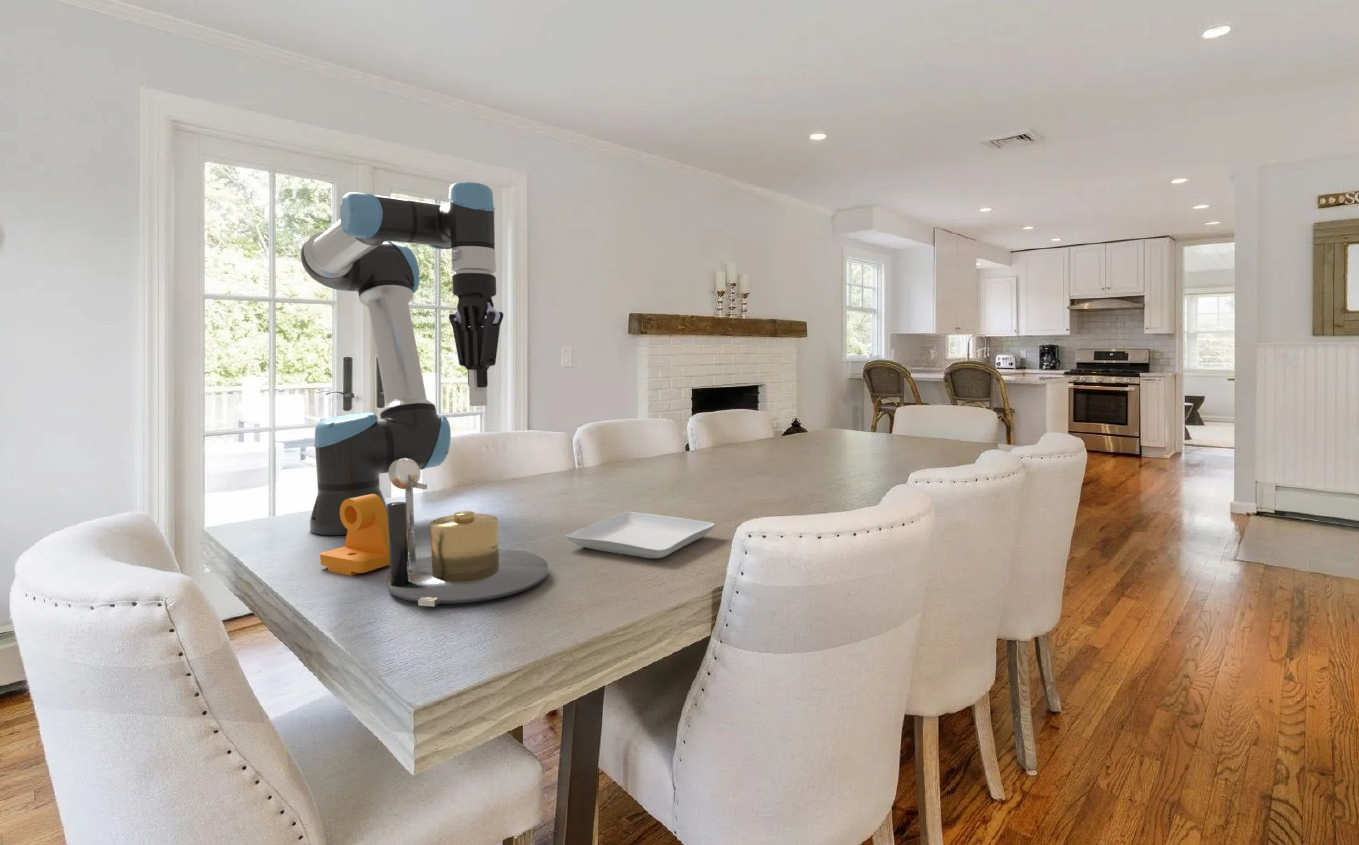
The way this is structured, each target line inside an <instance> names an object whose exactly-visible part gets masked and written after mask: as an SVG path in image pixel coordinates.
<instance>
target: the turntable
mask: <svg viewBox="0 0 1359 845" xmlns="http://www.w3.org/2000/svg"><path fill="white" fill-rule="evenodd" d="M386 505H387V515H388V536H389V558H390V565H389V572H390V574H389V575H388V577H387V581H386V582H387V589H388V592H389V593H390V594H392V595H393V596H395V597H397V598H398V599H402V600H404V601H405V600H406V601H409V602H415V603H417V604H418V606H419V607H436V606H437V605H440V604H441V605H442V604H443V605H447V604H449V605H450V604H464V603H465V604H466V603H467V604H468V603H474V602H475V603H477V602H484V601H490V600H494V599H500V598H504V597H509V596H511V595H515V594H518V593H521V592H523V591H526V590H529V589H531V588H533V587H535V586H537V585H538V584H540V583H542V581H544V580H545V578H546V577H547V576H548V573H549V566H548V562H547V560H546V559H544V558H543V557H541V556H539V555H537V554H534V553H531V552H527V551H521V550H515V549H502V548H501V549H500V548H499V570H498V571H497V572H496V573H495V574H493V575H490V576H488V577H484V578H480V579H476V580H469V581H444V580H439V579H436V578H434V577H433V575H432V555H430V556H426V558H422V559H419V560H416V561H413V562H410V563H409V556H408V534H407V511H406V501H396V502H389V503H386Z"/></svg>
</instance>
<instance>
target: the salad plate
mask: <svg viewBox="0 0 1359 845" xmlns="http://www.w3.org/2000/svg"><path fill="white" fill-rule="evenodd" d="M715 527H716V524H715V523H714V522H710V521H703V520H698V519H689V518H684V517H683V518H682V517H676V516H668V515H663V514H662V515H661V514H653V513H644V512H643V513H642V512H634V511H628V510H627V511H624V512H621V513H618V514H616V515H613V516H611V517H607V518H605V519H603V520H599V521H598V522H595V523H592V524H591V525H587V526H584V527H583V528H579V529H578V530H575V531H573V532H572V531H571V532H570V533H568V534H566V535H565V538H566V539H567V540H568V541H569V542H571V543H572V544H574V545H576V546H578V547H582V548H587V549H591V550H593V551H599V552H605V553H606V552H607V553H611V554H617V553H618V554H619V555H623V554H625V555H626V556H632V557H636V558H637V556H638V558H645V559H661V558H664V557H667V556H668V555H670V554H672V553H673V552H676V551H677V550H680V549H681V548H684V547H686V546H687V545H689V544H692V542H695V541H697V540H699V539H700V538H703V537H704V536H706V535H707V534H709V533H710V532H711V531H712V530H713V529H714V528H715ZM683 546H684V547H683Z"/></svg>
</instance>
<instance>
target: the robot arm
mask: <svg viewBox="0 0 1359 845" xmlns="http://www.w3.org/2000/svg"><path fill="white" fill-rule="evenodd" d="M448 190H449V191H448V192H449V193H448V197H447V200H448V203H446V204H439V203H432V202H427V201H426V202H424V201H419V200H410V199H406V198H405V199H404V198H398V197H397V198H396V197H391V196H385V195H380V194H373V193H369V192H347V193H345V195H344V196H343V197H342V201H341V203H340V208H339V219H338V221H337V222H334V224H332V225H331V226H330V227H329V228H328V229H327V230H326V231H320V232H315V233H314V234H312V235H311V236H309V237H308V238H307V239H306V240H305V242H304V243H303V245H302V247H301V250H300V260H301V264H302V267H303V269H304V270H305V272H306V273H307V274H308V275H309V276H310V277H311V278H312V279H313V280H314V281H315V282H318V283H319V284H321V285H323V286H325V287H326V288H330V289H333V290H337V291H344V292H345V291H346V292H357V293H358V298H359V302H360V303H361V304H362V305H364V306H365V307H366V308H368V311H369V312H368V313H369V319H370V323H371V330H372V336H373V340H374V341H373V342H374V345H375V350H376V352H375V353H376V357H377V358H376V359H377V363H378V370H379V375H380V379H381V384H382V391H383V397H384V402H385V406H384V408H382V410H381V411H380V413H379V417H380V418H378V416H377V414H376V413H375V412H361V413H350V414H344V415H339V416H335V417H334V416H333V417H330V418H326V419H323V420H321V421H319V422H318V423H317V424H316V426H315V430H314V444H313V446H314V448H315V462H316V463H315V466H316V480H317V482H316V484H317V495H316V498H315V502H314V505H313V509H312V513H311V515H310V516H311V517H309V518H310V519H309V528H310V529H309V531H310V532H311V533H313V534H315V535H319V536H321V535H322V536H345V535H346V536H347V531H348V529H347V528H346V527H345V526H344V525H343V523H342V521H341V518H340V507H341V504H342V502H343V501H344V500H346V499H350V498H355V497H359V496H364V495H369V494H376V495H378V496H379V497H380V498H381V500H382V501H383V503H384V506H385V509H386V513H387V501H386V500H385V497H384V495H383V492H382V490H381V487H380V486H381V485H380V475H381V474H388V472H389V468H390V466H391V464H392V463H393V462H394V461H396V460H399V459H402V458H409V459H412V460H413V461H415V462H416V463H417V464H418V466H419V468H420V471H421V470H422V471H423V470H425V469H429V468H430V469H431V468H435V467H439V466H441V465H442V464H443V463H444V462H445V461H446V459H447V457H448V455H449V451H450V447H451V438H452V437H451V435H452V434H451V425H450V422H449V420H448V418H447V416H445V415H442V414H438V413H437V409H436V405H435V403H433V402H432V401H430V400H428V398H427V394H426V389H425V384H424V378H423V373H422V368H421V362H420V359H419V358H420V357H419V352H418V347H417V342H416V337H415V332H414V331H415V330H414V326H413V321H412V320H413V319H412V316H411V310H410V305H409V304H410V303H411V302H412V300H413V299H414V295H415V293H416V292H417V291H418V289H419V285H420V280H421V279H420V276H419V275H420V267H419V262H418V260H417V258H416V256H415V254H414V251H412V249H411V248H409V247H408V246H407V245H405V244H403V243H407V244H415V245H418V244H419V245H425V246H426V245H427V246H429V247H431V248H433V249H436V250H450V249H451V264H452V265H451V268H452V272H454V273H453V275H452V277H451V280H452V282H451V283H452V284H451V285H452V294H453V295H454V296H455V297H457V298H458V300H457V301H458V302H457V307H456V308H457V310H456V311H455V313H450V314H448V319H449V322H450V324H451V326H452V331H453V332H452V333H453V337H454V342H455V348H456V353H457V359H458V364H459V366H461V367H464V368H465V369H466V370H467V385H468V391H469V392H468V393H469V394H468V395H469V396H468V397H469V407H470V406H471V407H479V406H480V407H482V406H488V389H487V388H488V384H489V382H488V370H489V369H490V368H491V367H494V366H496V362H497V352H498V346H499V337H500V329H501V323H502V321H503V319H504V313H503V311H497V310H496V309H495V308H494V307H495V306H494V305H495V304H494V302H493V298H492V297H495V296H496V295H497V277H496V276H495V275H494V273H495V272H496V271H497V262H496V249H495V248H496V247H495V245H496V242H495V238H496V237H495V210H496V209H495V208H496V207H495V205H494V196H493V194H494V193H493V190H492V189H491V187H489V186H488V185H487V184H483V183H480V182H479V183H478V182H472V181H471V182H470V181H461V182H460V181H458V182H455V183H453V184H451V185H450V186H449V189H448ZM387 516H388V515H387Z"/></svg>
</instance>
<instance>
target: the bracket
mask: <svg viewBox="0 0 1359 845" xmlns="http://www.w3.org/2000/svg"><path fill="white" fill-rule="evenodd" d="M340 518H341V521H342V523H343V525H344V526H345V527H346V528H347V529H348V531H347V535H346V538H345V542H344V546H341V547H337V548H334V549H330V550H327V551H322V552H320V553H319V556H320V566H323V567H327V568H328V570H327V571H328V572H331V573H334V574H335V573H336V574H339V573H341V575H344V574H345V575H344V576H349V577H352V576H355V575H358V574H363V573H367V572H371V571H375V570H377V569H380V568H383V567H386V566H390V558H389V536H388V516H387V513H386V509H385V506H384V503H383V501H382V500H381V498H380V497H379V496H378V495H376V494H369V495H364V496H359V497H355V498H350V499H346V500H344V501H343V502H342V504H341V507H340Z"/></svg>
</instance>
